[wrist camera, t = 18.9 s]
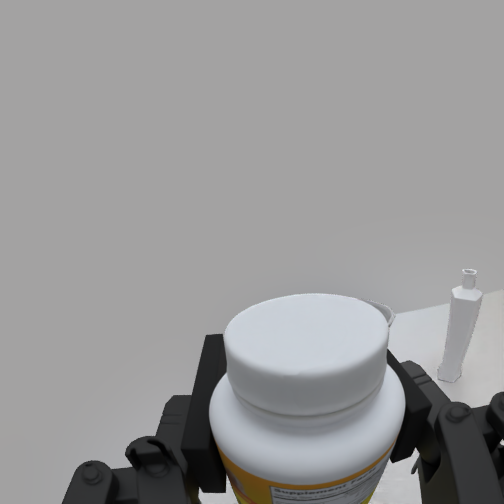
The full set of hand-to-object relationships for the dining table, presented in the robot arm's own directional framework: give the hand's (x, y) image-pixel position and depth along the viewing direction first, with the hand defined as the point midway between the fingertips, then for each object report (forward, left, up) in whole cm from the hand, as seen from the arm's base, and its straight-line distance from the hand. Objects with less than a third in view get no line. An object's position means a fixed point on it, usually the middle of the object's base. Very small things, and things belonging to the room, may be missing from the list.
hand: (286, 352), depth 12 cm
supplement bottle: (-4, -3, -6) cm, 8 cm away
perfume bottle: (+25, -11, -18) cm, 33 cm away
